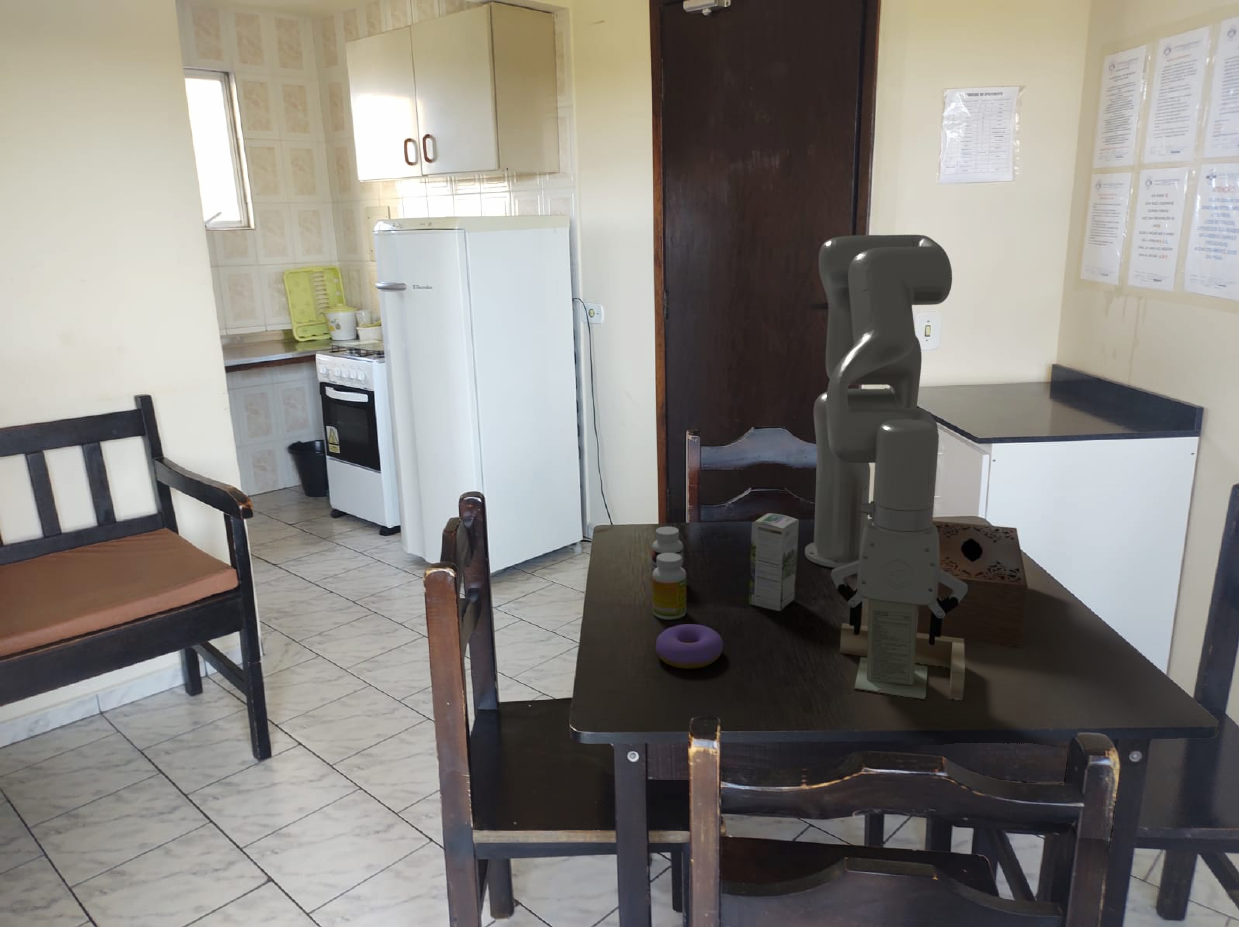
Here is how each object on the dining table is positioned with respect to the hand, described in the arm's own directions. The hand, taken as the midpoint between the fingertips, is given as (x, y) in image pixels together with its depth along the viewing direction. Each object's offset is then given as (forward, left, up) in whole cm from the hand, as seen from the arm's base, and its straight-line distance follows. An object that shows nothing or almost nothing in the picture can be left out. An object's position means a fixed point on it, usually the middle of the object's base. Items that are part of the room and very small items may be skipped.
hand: (894, 635), depth 118 cm
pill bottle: (-23, -39, -7) cm, 46 cm away
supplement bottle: (-11, -35, -7) cm, 37 cm away
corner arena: (-1, +1, -6) cm, 6 cm away
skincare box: (0, 0, -6) cm, 6 cm away
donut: (+2, -28, -7) cm, 29 cm away
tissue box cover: (-28, +10, -7) cm, 30 cm away
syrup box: (-20, -20, -7) cm, 29 cm away
